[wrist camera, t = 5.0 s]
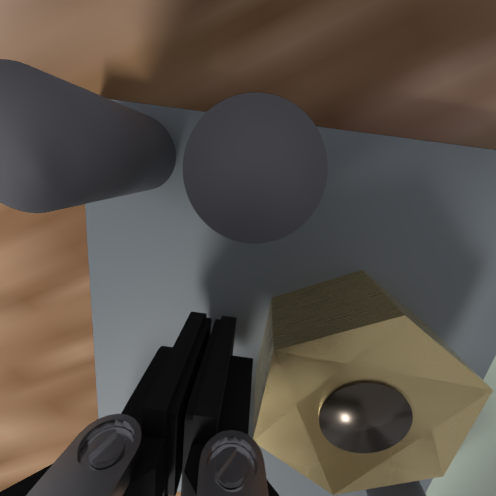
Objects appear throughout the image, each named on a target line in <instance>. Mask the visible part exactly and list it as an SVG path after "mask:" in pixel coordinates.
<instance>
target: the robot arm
mask: <svg viewBox="0 0 496 496" xmlns="http://www.w3.org/2000/svg"><path fill="white" fill-rule="evenodd" d="M236 321H237V318H236V317H229V316H222V317H221V319H215V322H214V325H213V328H212V331H211V318H207V314H206V313H199V312H191V313H190V314H189V316H188V318H187V320H186V322H185V324H184V326H183V328H182V330H181V332H180V334H179V336H178V338H177V340H176V342H175V344H174V346H173V347H167V346H161V347H160V348H159V349H158V351H157V352H156V354H155V356H154V358H153V359H152V361H151V363H150V364H149V366H148V368H147V370H146V371H145V373H144V375H143V376H142V378H141V380H140V382H139V383H138V385H137V387H136V388H135V390H134V392H133V394H132V395H131V397H130V399H129V401H128V402H127V404H126V406H125V407H124V409H123V411H122V413H121V414H112V415H107V416H105V417H102V418H99V419H97V420H96V421H94V422H93V423H91V424H89V425H88V426H87V427H86V428H85V429H84V430H83V431H82V432H80V433H79V435H78V436H77V437H76V438H75V439H74V440H73V441H72V443H71V444H70V445H69V446H68V447H67V448H66V450H65V451H64V452H63V453H62V454H61V455H60V457H59V458H58V459H57V460H56V461H55V462H54V463H53V464H52V465H50V466H48V467H46V468H44V469H42V470H40V471H39V472H37V473H35V474H33V475H31V476H29V477H27V478H25V479H24V480H22V481H20V482H18V483H16V484H14V485H12V486H11V487H9V488H7V489H5V490H3V491H1V492H0V496H168V495H169V496H175V495H176V493H177V489H178V486H179V482H180V478H181V475H182V484H181V496H279V494H278V493H277V492H276V490H275V489H274V488H273V487H272V485H271V484H270V483H269V481H268V480H267V478H266V470H265V463H264V458H263V455H262V451H261V449H260V448H259V446H258V444H257V443H256V441H254V440H253V439H252V438H251V437H250V436H249V435H248V431H249V415H250V400H251V384H252V368H253V358H247V357H240V356H233V347H234V338H235V330H236Z"/></svg>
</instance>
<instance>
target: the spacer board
mask: <svg viewBox="0 0 496 496" xmlns="http://www.w3.org/2000/svg"><path fill="white" fill-rule="evenodd" d="M0 202H1V203H3V204H5V205H7V206H9V207H11V208H14V209H17V210H20V211H24V212H30V213H45V212H50V211H54V210H59V209H64V208H68V207H73V206H77V205H82V204H85V211H86V227H87V243H88V259H89V275H90V290H91V306H92V322H93V338H94V354H95V370H96V386H97V402H98V418H102V417H105V416H107V415H112V414H121V413H122V411H123V409H124V407H125V406H126V404H127V402H128V401H129V399H130V397H131V395H132V394H133V392H134V390H135V388H136V387H137V385H138V383H139V382H140V380H141V378H142V376H143V375H144V373H145V371H146V370H147V368H148V366H149V364H150V363H151V361H152V359H153V358H154V356H155V354H156V352H157V351H158V349H159V348H160V347H161V346H167V347H173V346H174V344H175V342H176V340H177V338H178V336H179V334H180V332H181V330H182V328H183V326H184V324H185V322H186V320H187V318H188V316H189V314H190V313H191V312H199V313H206V314H207V318H211V331H212V328H213V325H214V322H215V319H221V317H222V316H229V317H236V318H237V321H236V330H235V338H234V347H233V356H240V357H247V358H253V368H252V384H251V400H250V415H249V431H248V435H249V436H250V437H251V438H252V439H253V422H254V401H255V380H256V368H257V363H258V358H259V354H260V349H261V344H262V340H263V335H264V330H265V325H266V321H267V316H268V311H269V307H270V302H271V298H272V297H276V296H279V295H282V294H286V293H289V292H292V291H295V290H299V289H302V288H305V287H308V286H312V285H315V284H318V283H322V282H325V281H328V280H331V279H335V278H338V277H341V276H345V275H348V274H351V273H354V272H358V271H361V270H363V271H365V272H366V273H367V274H368V275H369V276H370V277H372V278H373V279H374V280H375V281H376V282H377V283H379V284H380V285H381V286H382V287H383V288H384V289H386V290H387V291H388V292H389V293H390V294H391V295H393V296H394V297H395V298H396V299H397V300H399V301H400V302H401V303H402V304H403V305H404V306H406V307H407V308H408V309H409V310H410V311H411V312H413V313H414V314H415V315H416V316H417V317H418V318H420V319H421V320H422V321H423V322H424V323H425V324H427V325H428V326H429V327H430V328H431V329H432V330H433V331H434V332H435V333H436V334H437V335H438V336H439V337H440V338H441V339H442V340H443V341H444V342H445V343H446V344H447V345H448V346H449V347H450V348H451V349H452V350H453V351H454V352H455V353H456V354H457V355H458V356H459V357H460V358H461V359H462V360H463V361H464V362H465V363H466V364H467V365H468V366H469V367H470V368H471V369H472V370H473V371H474V372H475V373H476V374H477V375H478V376H479V377H480V378H481V379H482V380H483V381H484V382H486V383H487V384H488V385H489V386H490V387H491V388H492V389H493V391H492V393H491V395H490V396H489V398H488V400H487V402H486V403H485V405H484V407H483V409H482V410H481V412H480V414H479V415H478V417H477V419H476V421H475V422H474V424H473V426H472V428H471V429H470V431H469V433H468V435H467V436H466V438H465V440H464V441H463V443H462V445H461V447H460V448H459V450H458V452H457V454H456V455H455V457H454V459H453V460H452V462H451V464H450V466H449V467H448V469H447V471H446V473H445V474H444V476H443V477H437V478H431V479H425V480H419V481H413V482H407V483H401V484H395V485H390V486H384V487H378V488H372V489H366V490H360V491H354V492H348V493H342V494H336V495H332V494H331V493H329V492H328V491H326V490H325V489H323V488H322V487H320V486H319V485H317V484H316V483H314V482H313V481H311V480H310V479H308V478H307V477H305V476H304V475H302V474H301V473H299V472H298V471H296V470H295V469H293V468H292V467H290V466H289V465H287V464H286V463H284V462H283V461H281V460H280V459H278V458H277V457H275V456H274V455H272V454H271V453H269V452H268V451H266V450H265V449H263V448H262V447H260V446H259V445H258V446H259V448H260V449H261V451H262V455H263V458H264V463H265V470H266V478H267V480H268V481H269V483H270V484H271V485H272V487H273V488H274V489H275V490H276V492H277V493H278V494H279V496H496V150H492V149H485V148H477V147H469V146H462V145H454V144H447V143H439V142H431V141H424V140H416V139H409V138H401V137H393V136H386V135H378V134H371V133H363V132H355V131H348V130H340V129H333V128H325V127H317V126H316V125H315V124H314V123H313V121H312V120H311V119H310V117H309V116H308V115H307V114H306V113H305V112H304V111H303V110H302V109H300V108H299V107H298V106H296V105H295V104H294V103H292V102H290V101H288V100H286V99H285V98H282V97H279V96H276V95H273V94H268V93H259V92H252V93H243V94H239V95H235V96H232V97H230V98H227V99H225V100H223V101H221V102H219V103H218V104H216V105H215V106H213V107H212V108H211V109H210V110H208V111H207V112H203V111H196V110H188V109H180V108H173V107H165V106H158V105H150V104H142V103H135V102H127V101H120V100H112V99H107V98H105V97H103V96H100V95H98V94H95V93H93V92H91V91H88V90H86V89H84V88H81V87H79V86H76V85H74V84H72V83H69V82H67V81H65V80H62V79H60V78H57V77H55V76H53V75H50V74H48V73H46V72H43V71H41V70H38V69H36V68H34V67H31V66H29V65H26V64H23V63H21V62H17V61H12V60H4V59H0ZM181 484H182V475H181V478H180V482H179V486H178V489H177V491H179V492H181Z"/></svg>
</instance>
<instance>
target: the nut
mask: <svg viewBox="0 0 496 496" xmlns="http://www.w3.org/2000/svg"><path fill="white" fill-rule="evenodd" d="M492 391H493V389H492V388H491V387H490V386H489V385H488V384H487V383H486V382H484V381H483V380H482V379H481V378H480V377H479V376H478V375H477V374H476V373H475V372H474V371H473V370H472V369H471V368H470V367H469V366H468V365H467V364H466V363H465V362H464V361H463V360H462V359H461V358H460V357H459V356H458V355H457V354H456V353H455V352H454V351H453V350H452V349H451V348H450V347H449V346H448V345H447V344H446V343H445V342H444V341H443V340H442V339H441V338H440V337H439V336H438V335H437V334H436V333H435V332H434V331H433V330H432V329H431V328H430V327H429V326H428V325H427V324H425V323H424V322H423V321H422V320H421V319H420V318H418V317H417V316H416V315H415V314H414V313H413V312H411V311H410V310H409V309H408V308H407V307H406V306H404V305H403V304H402V303H401V302H400V301H399V300H397V299H396V298H395V297H394V296H393V295H391V294H390V293H389V292H388V291H387V290H386V289H384V288H383V287H382V286H381V285H380V284H379V283H377V282H376V281H375V280H374V279H373V278H372V277H370V276H369V275H368V274H367V273H366V272H365V271H363V270H361V271H358V272H354V273H351V274H348V275H345V276H341V277H338V278H335V279H331V280H328V281H325V282H322V283H318V284H315V285H312V286H308V287H305V288H302V289H299V290H295V291H292V292H289V293H286V294H282V295H279V296H276V297H272V298H271V302H270V307H269V311H268V316H267V321H266V325H265V330H264V335H263V340H262V344H261V349H260V354H259V358H258V363H257V368H256V380H255V401H254V422H253V440H254V441H256V443H257V444H258V445H259V446H260V447H262V448H263V449H265V450H266V451H268V452H269V453H271V454H272V455H274V456H275V457H277V458H278V459H280V460H281V461H283V462H284V463H286V464H287V465H289V466H290V467H292V468H293V469H295V470H296V471H298V472H299V473H301V474H302V475H304V476H305V477H307V478H308V479H310V480H311V481H313V482H314V483H316V484H317V485H319V486H320V487H322V488H323V489H325V490H326V491H328V492H329V493H331V494H332V495H336V494H342V493H348V492H354V491H360V490H366V489H372V488H378V487H384V486H390V485H395V484H401V483H407V482H413V481H419V480H425V479H431V478H437V477H443V476H444V474H445V473H446V471H447V469H448V467H449V466H450V464H451V462H452V460H453V459H454V457H455V455H456V454H457V452H458V450H459V448H460V447H461V445H462V443H463V441H464V440H465V438H466V436H467V435H468V433H469V431H470V429H471V428H472V426H473V424H474V422H475V421H476V419H477V417H478V415H479V414H480V412H481V410H482V409H483V407H484V405H485V403H486V402H487V400H488V398H489V396H490V395H491V393H492Z"/></svg>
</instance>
